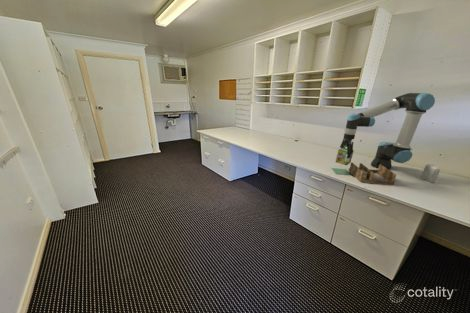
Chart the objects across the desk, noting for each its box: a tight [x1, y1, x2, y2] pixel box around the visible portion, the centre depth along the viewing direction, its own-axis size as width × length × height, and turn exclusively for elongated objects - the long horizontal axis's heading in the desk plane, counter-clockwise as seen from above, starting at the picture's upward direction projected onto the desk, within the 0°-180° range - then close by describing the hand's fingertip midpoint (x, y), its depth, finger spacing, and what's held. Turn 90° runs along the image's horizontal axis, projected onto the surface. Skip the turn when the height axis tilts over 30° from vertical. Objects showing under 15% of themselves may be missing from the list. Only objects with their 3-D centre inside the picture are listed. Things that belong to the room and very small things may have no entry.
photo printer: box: [421, 163, 441, 183], centre depth 143 cm, size 10×4×12 cm, turn 167°
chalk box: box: [335, 145, 355, 166], centre depth 152 cm, size 9×9×15 cm
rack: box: [348, 162, 397, 186], centre depth 147 cm, size 22×23×8 cm
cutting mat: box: [331, 167, 352, 176], centre depth 158 cm, size 12×12×1 cm
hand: (343, 158), depth 154 cm, fingers closed on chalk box, 12 cm apart
